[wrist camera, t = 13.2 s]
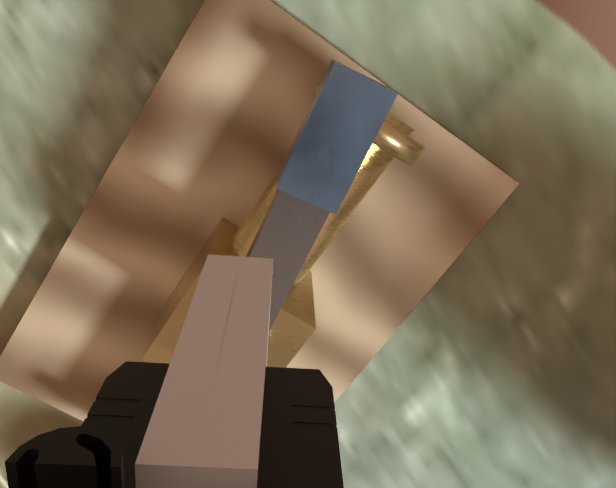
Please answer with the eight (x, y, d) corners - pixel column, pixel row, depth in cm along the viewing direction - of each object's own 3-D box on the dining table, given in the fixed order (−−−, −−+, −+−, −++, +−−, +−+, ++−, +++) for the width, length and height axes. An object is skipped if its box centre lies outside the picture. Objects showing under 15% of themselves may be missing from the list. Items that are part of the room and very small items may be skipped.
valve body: (176, 447, 44) (152, 537, 37) (94, 406, 43) (51, 491, 35) (415, 128, 36) (449, 159, 28) (324, 62, 34) (333, 75, 26)
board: (251, 488, 47) (250, 502, 46) (-1, 363, 42) (-11, 375, 41) (511, 177, 38) (519, 183, 36) (226, -32, 33) (224, -34, 31)
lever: (248, 391, 32) (245, 419, 30) (175, 364, 32) (166, 390, 29) (402, 94, 26) (413, 101, 24) (317, 51, 26) (320, 55, 23)
